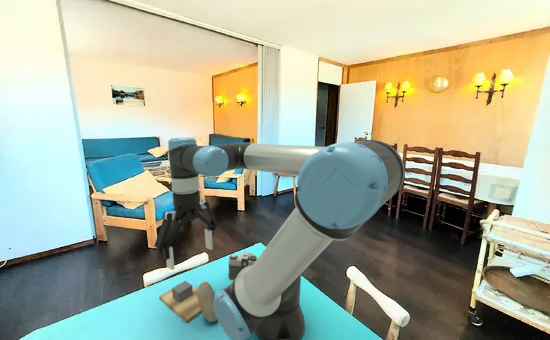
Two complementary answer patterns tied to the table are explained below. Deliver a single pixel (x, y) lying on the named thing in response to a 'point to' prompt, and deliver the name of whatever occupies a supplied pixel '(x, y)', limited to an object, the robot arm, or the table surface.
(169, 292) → the board
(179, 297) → the eraser
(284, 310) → the robot arm
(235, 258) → the camera
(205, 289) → the stone
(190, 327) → the table surface
